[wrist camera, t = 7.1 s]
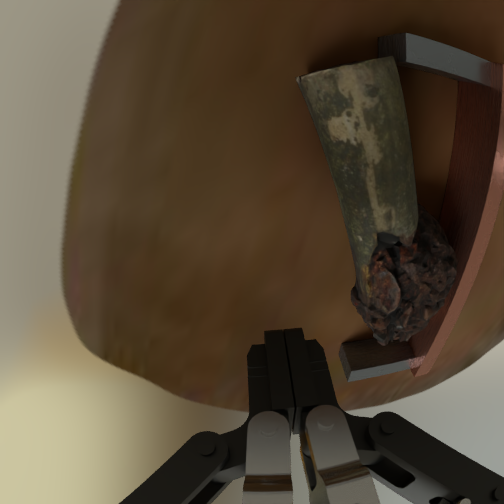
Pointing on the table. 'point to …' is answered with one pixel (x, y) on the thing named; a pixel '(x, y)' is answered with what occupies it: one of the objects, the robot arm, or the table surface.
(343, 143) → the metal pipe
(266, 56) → the table surface
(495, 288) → the table surface
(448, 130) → the table surface
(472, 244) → the brown pull handle
